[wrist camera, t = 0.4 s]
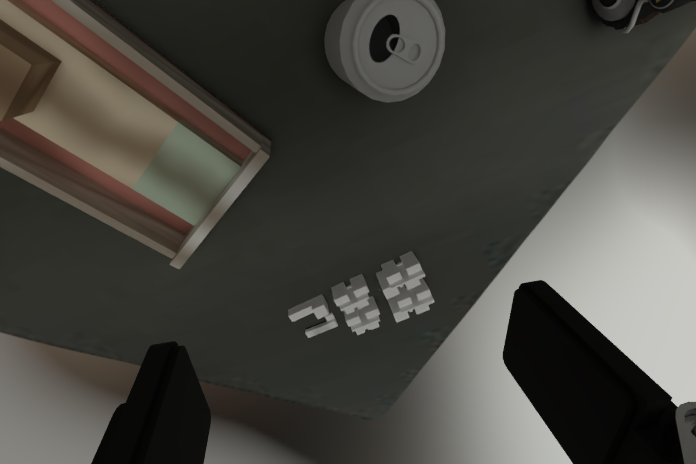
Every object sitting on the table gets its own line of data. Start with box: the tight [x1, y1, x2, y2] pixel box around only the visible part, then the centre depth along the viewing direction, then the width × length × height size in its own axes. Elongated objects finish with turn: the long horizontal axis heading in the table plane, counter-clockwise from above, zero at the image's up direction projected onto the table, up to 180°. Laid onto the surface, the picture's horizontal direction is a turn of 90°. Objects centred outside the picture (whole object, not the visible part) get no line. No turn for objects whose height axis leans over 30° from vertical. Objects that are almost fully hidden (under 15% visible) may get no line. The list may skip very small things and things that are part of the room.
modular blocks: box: [288, 251, 434, 338], centre depth 47 cm, size 20×7×4 cm, turn 113°
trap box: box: [0, 0, 271, 269], centre depth 31 cm, size 15×25×6 cm, turn 48°
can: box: [324, 0, 445, 103], centre depth 29 cm, size 8×8×12 cm
